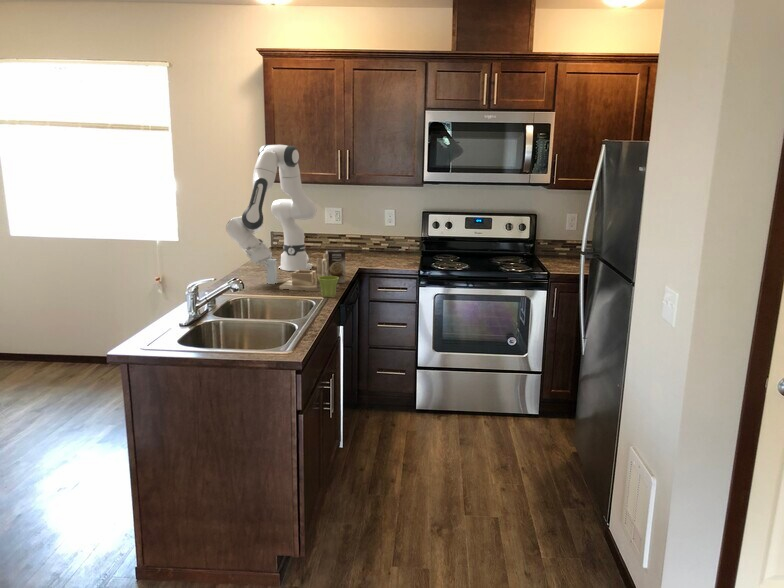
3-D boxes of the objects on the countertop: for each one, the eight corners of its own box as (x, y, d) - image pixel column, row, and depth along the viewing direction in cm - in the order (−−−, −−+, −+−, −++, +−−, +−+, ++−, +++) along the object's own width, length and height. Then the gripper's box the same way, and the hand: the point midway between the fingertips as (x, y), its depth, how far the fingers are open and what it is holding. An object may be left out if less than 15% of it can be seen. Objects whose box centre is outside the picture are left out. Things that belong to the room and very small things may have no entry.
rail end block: (269, 282, 310) (268, 258, 307) (277, 282, 309) (276, 259, 307) (266, 283, 306) (266, 260, 303) (274, 284, 305) (274, 260, 303)
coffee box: (327, 283, 310) (327, 251, 306) (325, 281, 316) (325, 249, 312) (345, 282, 312) (345, 251, 309) (342, 280, 318) (343, 249, 315)
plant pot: (325, 299, 276) (325, 280, 274) (314, 295, 283) (314, 277, 281) (342, 296, 282) (342, 278, 280) (331, 293, 289) (331, 274, 287)
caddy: (289, 282, 310) (288, 252, 306) (328, 284, 307) (328, 253, 304) (279, 289, 294) (278, 257, 291) (321, 291, 292) (321, 259, 288)
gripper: (248, 244, 294) (268, 265, 295) (262, 239, 314) (281, 258, 315) (239, 253, 295) (259, 274, 296) (254, 247, 315) (273, 267, 316)
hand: (271, 266), depth 306 cm, fingers open, 8 cm apart
